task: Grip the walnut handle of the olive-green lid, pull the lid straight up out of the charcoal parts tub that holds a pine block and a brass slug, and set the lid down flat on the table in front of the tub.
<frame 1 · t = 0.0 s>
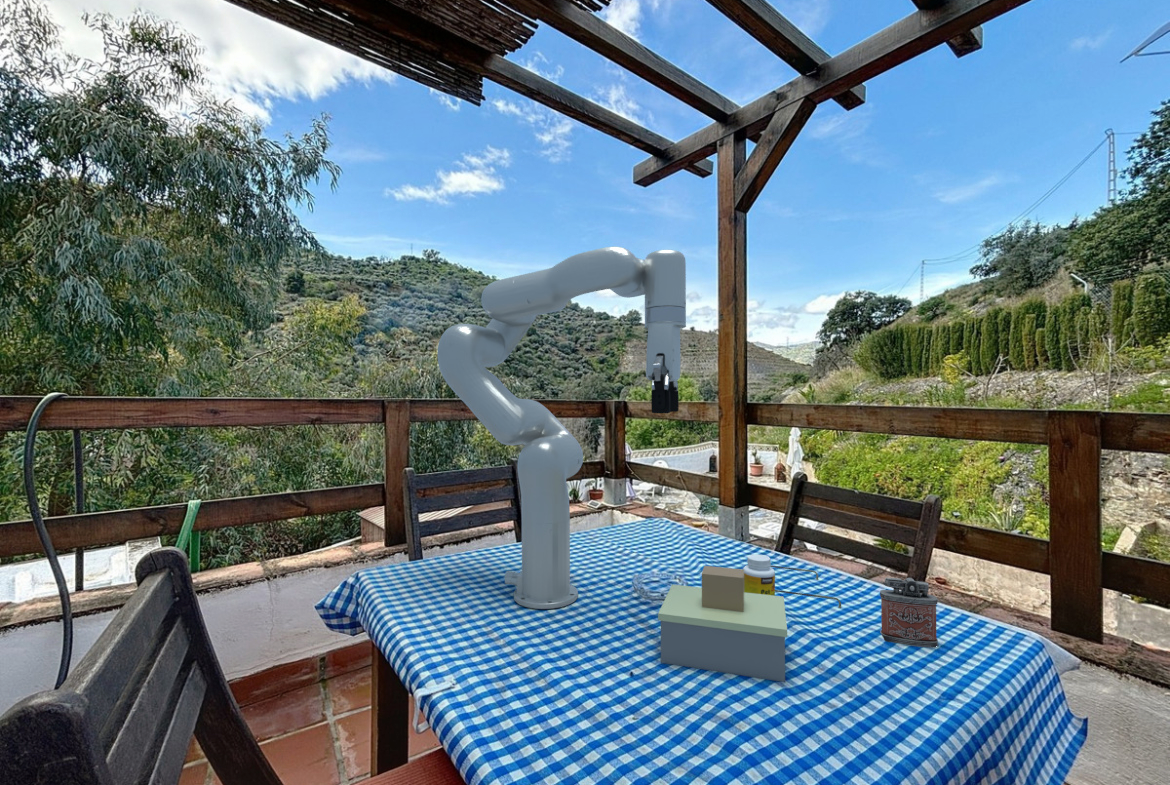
hand: (665, 412, 98), 37 cm above the table, tool pointing down, fingers open, 9 cm apart
eyeglasses: (790, 593, 108), on the table
lighter: (908, 642, 86), on the table
supplement bottle: (759, 614, 97), on the table
tub: (723, 657, 80), on the table
lid: (723, 611, 80), point 7 cm above the table, touching tub
pine block: (696, 648, 82), point 1 cm above the table, touching tub
brass slug: (751, 656, 79), point 1 cm above the table, touching tub
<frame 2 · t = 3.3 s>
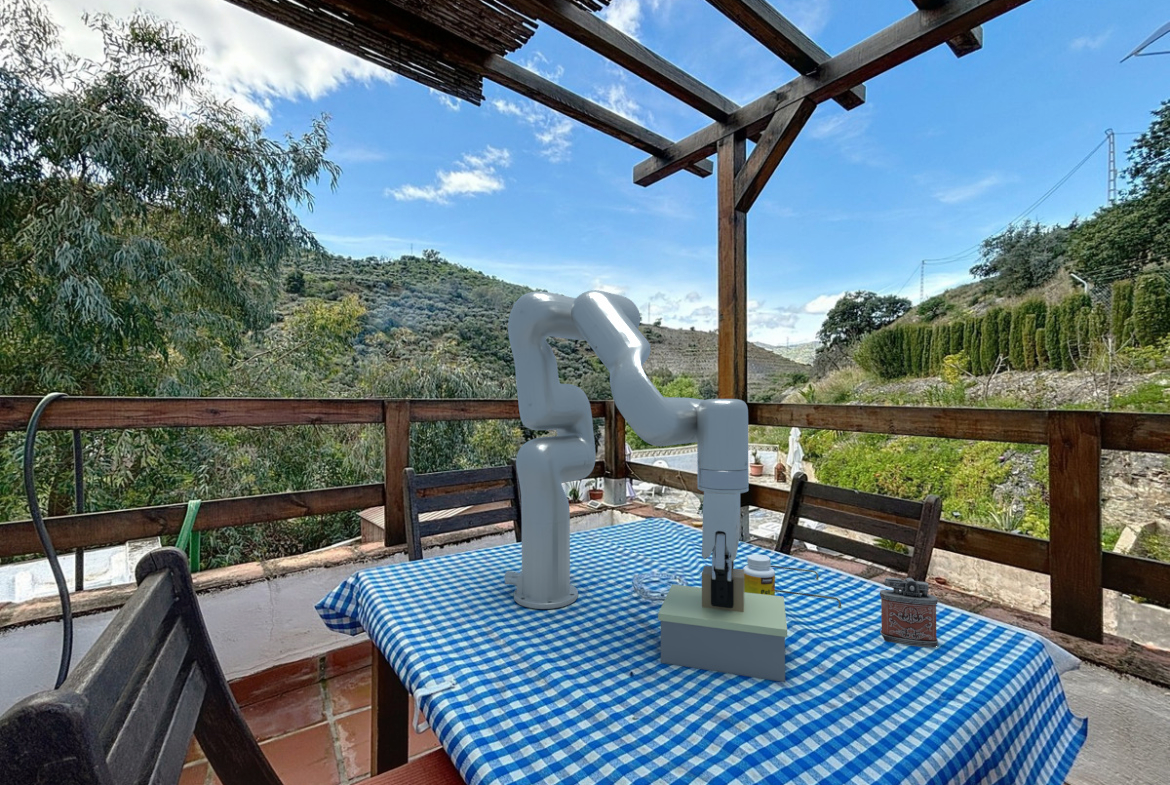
hand: (723, 599, 80), 9 cm above the table, tool pointing down, fingers closed on lid, 4 cm apart
lid: (723, 611, 80), point 7 cm above the table, touching gripper, tub
everything else where it was.
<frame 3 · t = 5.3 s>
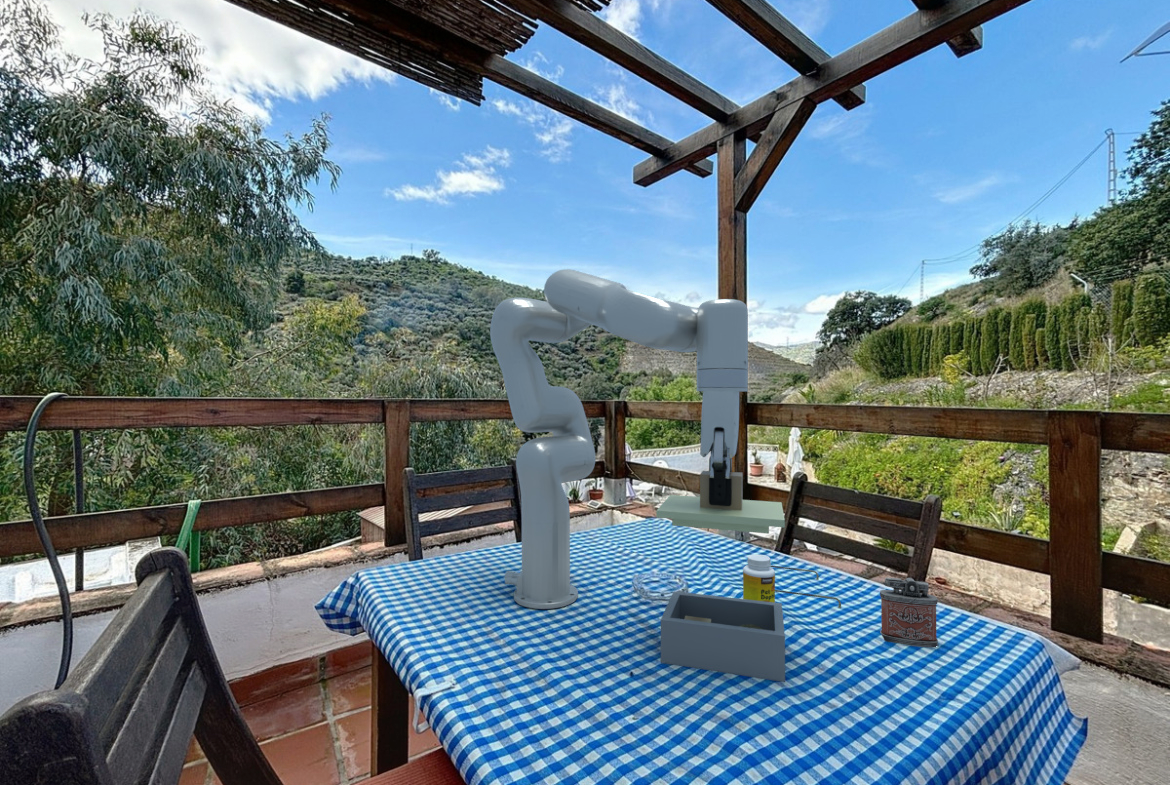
hand: (721, 500, 81), 24 cm above the table, tool pointing down, fingers closed on lid, 4 cm apart
lid: (721, 512, 81), point 22 cm above the table, touching gripper
everything else where it was.
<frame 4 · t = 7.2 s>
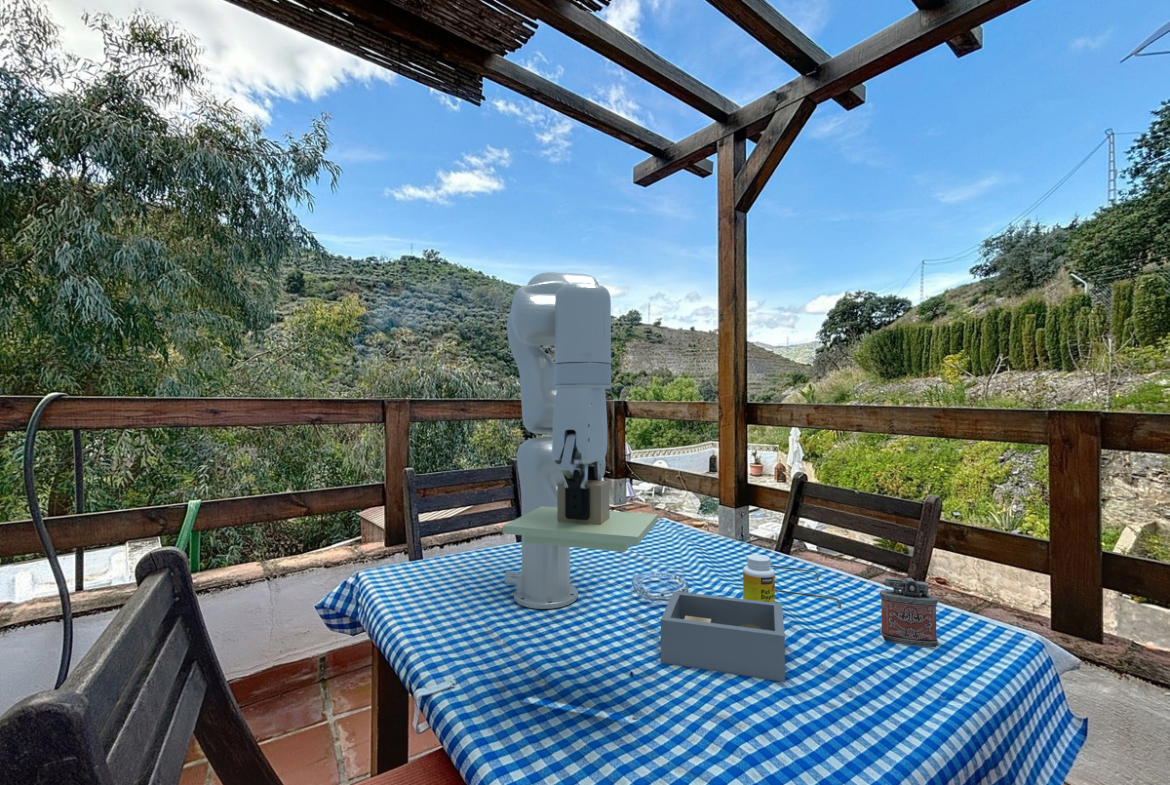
hand: (583, 513, 71), 24 cm above the table, tool pointing down, fingers closed on lid, 4 cm apart
lid: (583, 527, 71), point 22 cm above the table, touching gripper
everything else where it was.
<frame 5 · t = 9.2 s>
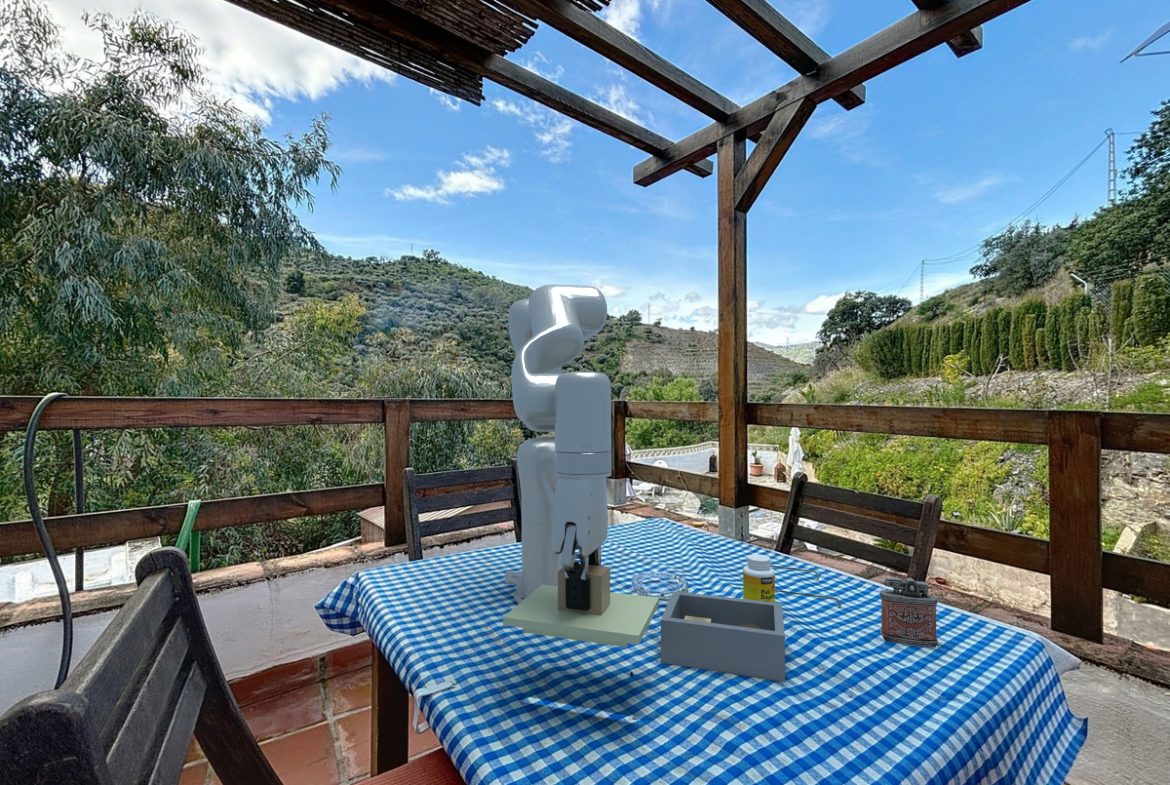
hand: (583, 600, 70), 12 cm above the table, tool pointing down, fingers closed on lid, 4 cm apart
lid: (584, 614, 70), point 11 cm above the table, touching gripper
everything else where it was.
when the fingers open (5 cm above the table, at t = 11.0 s): lid drops 2 cm, point 1 cm above the table.
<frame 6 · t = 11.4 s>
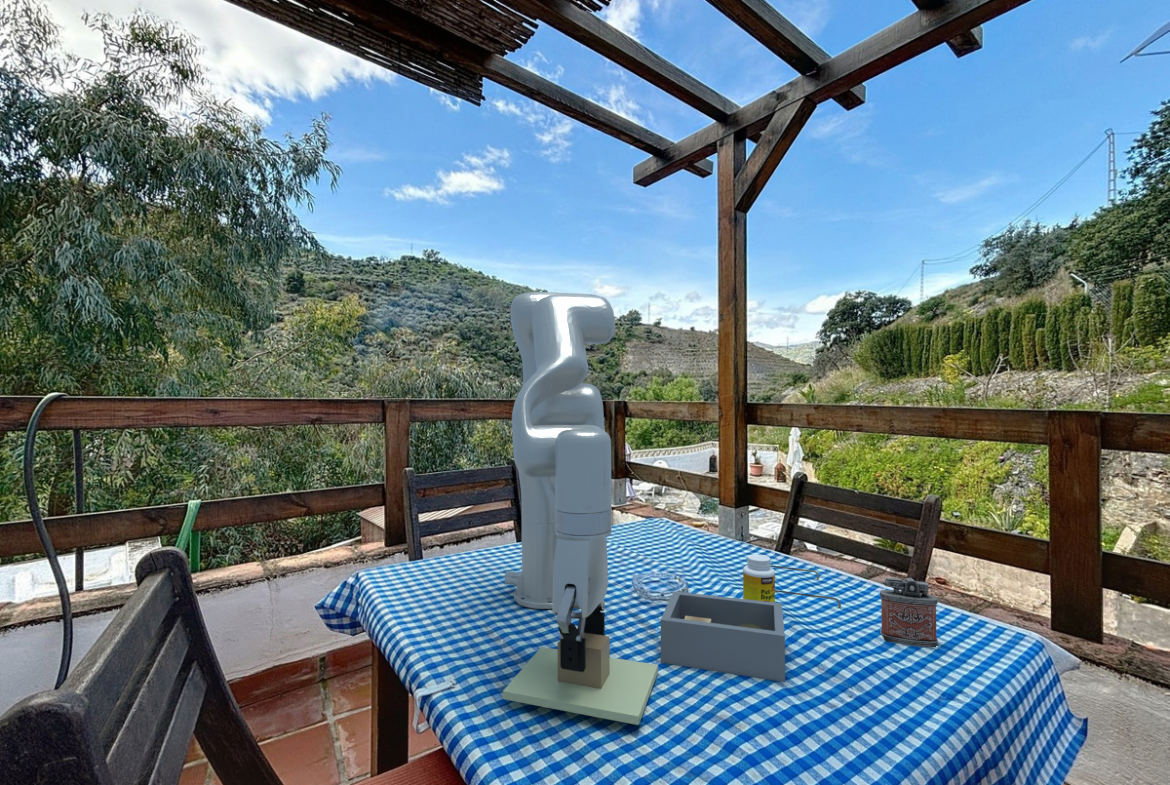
hand: (583, 653, 71), 5 cm above the table, tool pointing down, fingers open, 7 cm apart
lid: (584, 684, 71), point 1 cm above the table
everything else where it was.
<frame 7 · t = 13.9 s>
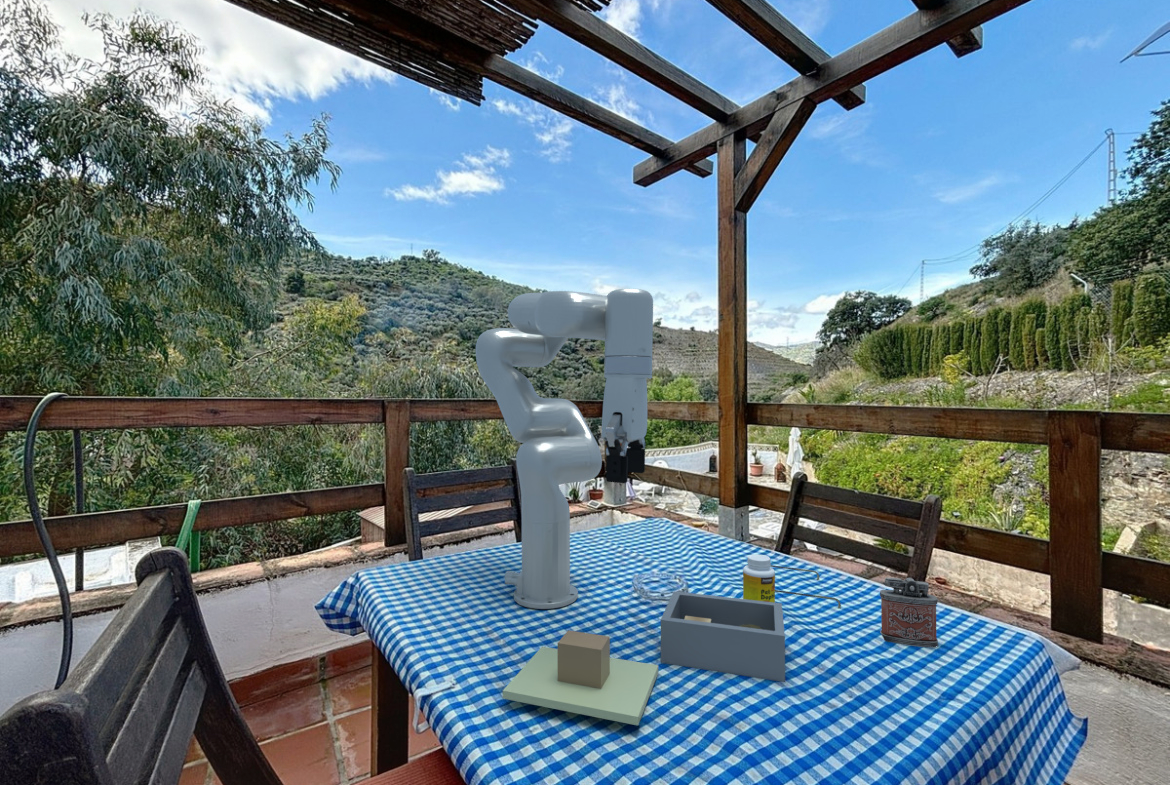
hand: (626, 477, 84), 27 cm above the table, tool pointing down, fingers open, 9 cm apart
nothing on the table moved.
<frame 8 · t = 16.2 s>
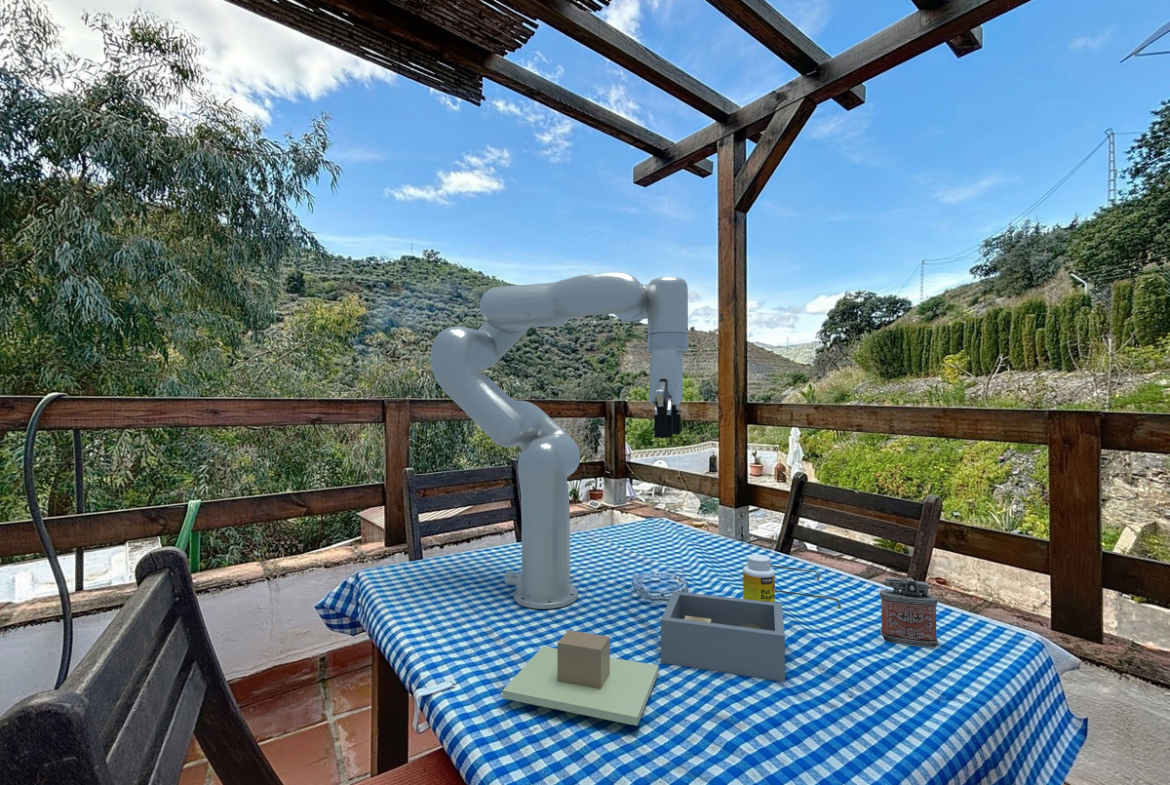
hand: (668, 435, 99), 32 cm above the table, tool pointing down, fingers open, 9 cm apart
nothing on the table moved.
at the end: lid inside the target area (0.1 cm from its centre), point 1.2 cm above the table; lid tilted 0°; the gripper is holding nothing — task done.
